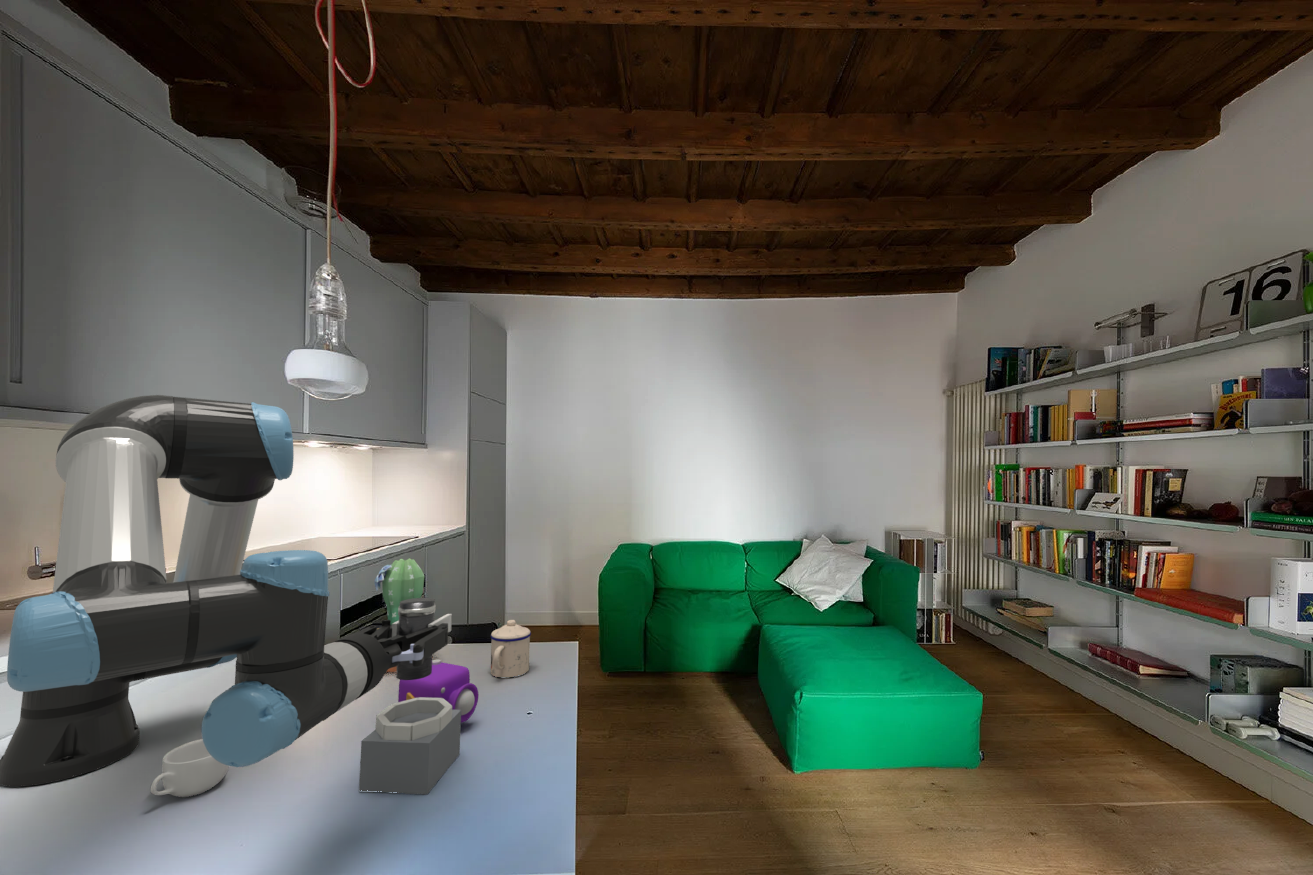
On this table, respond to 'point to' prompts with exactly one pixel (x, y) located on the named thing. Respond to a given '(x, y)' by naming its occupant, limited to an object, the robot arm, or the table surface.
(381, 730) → the camera body block
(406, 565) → the potted cactus
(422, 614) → the lens
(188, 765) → the teacup
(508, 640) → the teacup with lid
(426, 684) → the toy camera
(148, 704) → the table surface
